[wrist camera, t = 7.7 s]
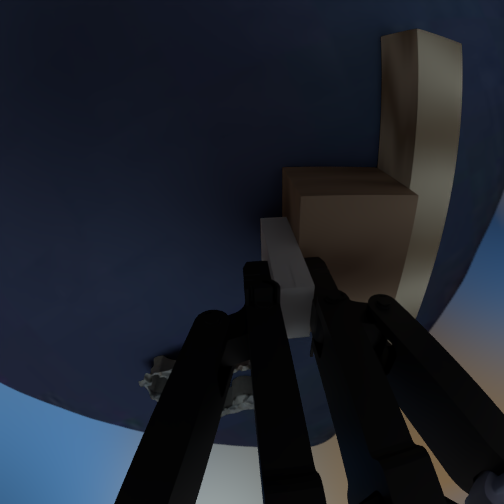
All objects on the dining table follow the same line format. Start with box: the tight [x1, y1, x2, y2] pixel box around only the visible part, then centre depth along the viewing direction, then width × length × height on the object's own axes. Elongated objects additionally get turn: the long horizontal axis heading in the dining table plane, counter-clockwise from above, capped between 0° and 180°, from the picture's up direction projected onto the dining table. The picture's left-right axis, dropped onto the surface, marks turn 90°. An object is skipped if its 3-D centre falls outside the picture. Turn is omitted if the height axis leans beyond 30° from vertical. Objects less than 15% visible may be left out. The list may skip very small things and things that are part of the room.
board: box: [377, 29, 462, 344], centre depth 17 cm, size 24×3×4 cm, turn 2°
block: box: [282, 167, 419, 331], centre depth 17 cm, size 8×6×5 cm
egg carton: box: [139, 355, 254, 417], centre depth 24 cm, size 11×8×4 cm
